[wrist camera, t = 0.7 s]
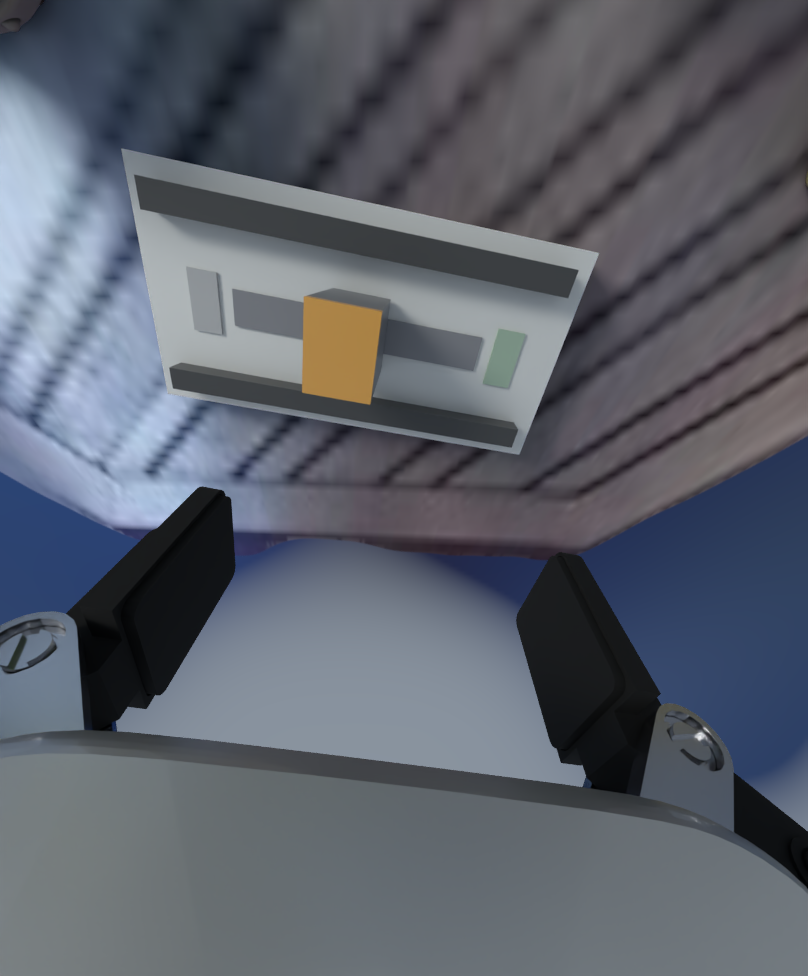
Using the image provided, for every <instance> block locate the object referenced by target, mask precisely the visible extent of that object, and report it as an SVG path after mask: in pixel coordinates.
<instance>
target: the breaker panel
mask: <svg viewBox="0 0 808 976" xmlns="http://www.w3.org/2000/svg"><path fill="white" fill-rule="evenodd" d="M121 151H122V156H123V161H124V166H125V172H126V177H127V182H128V187H129V193H130V198H131V203H132V208H133V213H134V219H135V224H136V229H137V234H138V240H139V245H140V250H141V255H142V260H143V266H144V271H145V276H146V281H147V287H148V292H149V297H150V302H151V308H152V313H153V318H154V323H155V328H156V334H157V339H158V344H159V349H160V355H161V360H162V365H163V370H164V375H165V381H166V386H167V391H168V394H172V395H178V396H184V397H190V398H195V399H201V400H207V401H213V402H218V403H224V404H230V405H236V406H241V407H247V408H253V409H259V410H264V411H270V412H276V413H282V414H287V415H293V416H299V417H305V418H311V419H316V420H322V421H328V422H334V423H339V424H345V425H351V426H357V427H362V428H368V429H374V430H380V431H385V432H391V433H397V434H403V435H408V436H414V437H420V438H426V439H431V440H437V441H443V442H449V443H454V444H460V445H466V446H472V447H478V448H483V449H489V450H495V451H501V452H506V453H512V454H518V455H519V454H520V452H521V449H522V446H523V444H524V441H525V439H526V436H527V434H528V431H529V429H530V426H531V424H532V421H533V419H534V416H535V414H536V411H537V409H538V406H539V404H540V401H541V399H542V396H543V393H544V391H545V388H546V386H547V383H548V381H549V378H550V376H551V373H552V371H553V368H554V366H555V363H556V361H557V358H558V356H559V353H560V351H561V348H562V346H563V343H564V340H565V338H566V335H567V333H568V330H569V328H570V325H571V323H572V320H573V318H574V315H575V313H576V310H577V308H578V305H579V303H580V300H581V298H582V295H583V293H584V290H585V287H586V285H587V282H588V280H589V277H590V275H591V272H592V270H593V267H594V265H595V262H596V260H597V257H598V255H599V253H596V252H592V251H587V250H583V249H578V248H574V247H569V246H565V245H560V244H555V243H551V242H546V241H542V240H537V239H533V238H528V237H524V236H519V235H514V234H510V233H505V232H501V231H496V230H492V229H487V228H482V227H478V226H473V225H469V224H464V223H460V222H455V221H451V220H446V219H441V218H437V217H432V216H428V215H423V214H419V213H414V212H410V211H405V210H400V209H396V208H391V207H387V206H382V205H378V204H373V203H368V202H364V201H359V200H355V199H350V198H346V197H341V196H337V195H332V194H327V193H323V192H318V191H314V190H309V189H305V188H300V187H295V186H291V185H286V184H282V183H277V182H273V181H268V180H264V179H259V178H254V177H250V176H245V175H241V174H236V173H232V172H227V171H223V170H218V169H213V168H209V167H204V166H200V165H195V164H191V163H186V162H181V161H177V160H172V159H168V158H163V157H159V156H154V155H150V154H145V153H140V152H136V151H131V150H127V149H122V148H121ZM331 288H337V289H342V290H347V291H352V292H357V293H362V294H367V295H372V296H377V297H382V298H386V299H391V301H390V308H389V316H388V323H387V330H386V337H385V345H384V352H383V359H382V367H381V373H380V376H379V379H378V382H377V385H376V388H375V391H374V394H373V397H372V401H371V404H370V405H369V404H363V403H357V402H352V401H346V400H341V399H335V398H329V397H324V396H318V395H313V394H307V393H302V364H303V309H304V296H307V295H310V294H314V293H317V292H321V291H324V290H328V289H331Z"/></svg>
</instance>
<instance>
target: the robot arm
mask: <svg viewBox="0 0 808 976" xmlns="http://www.w3.org/2000/svg"><path fill="white" fill-rule="evenodd" d="M234 572H235V552H234V537H233V521H232V506H231V499H230V497H227V496H225V493H224V491H222V490H218V489H213V488H207V487H199V488H197V489H196V490H195V491H194V492H193V493H192V494H191V495H190V496H189V497H188V498H187V499H186V500H185V501H184V502H183V503H182V504H181V505H180V506H179V507H178V508H177V509H176V510H175V511H174V512H173V513H172V514H171V515H170V516H169V517H168V518H167V519H166V520H165V521H164V522H163V523H162V524H161V525H160V526H159V527H158V528H157V529H154V530H152V531H150V532H149V533H148V534H147V535H146V536H145V537H144V538H143V539H142V540H141V541H140V542H139V543H138V544H137V545H136V546H135V547H133V548H132V549H131V550H130V551H129V552H128V553H127V554H126V555H125V556H124V557H123V558H122V559H121V560H120V561H119V562H118V563H117V564H116V565H115V566H114V567H113V568H112V569H111V570H110V571H109V572H108V573H107V574H106V575H105V576H104V577H103V578H102V579H101V580H100V581H99V582H98V583H97V584H96V585H95V586H94V587H93V588H92V589H91V590H90V591H89V592H88V593H87V594H86V595H85V596H84V597H83V598H82V599H81V600H79V601H78V602H77V603H76V604H75V605H74V606H73V607H72V608H71V609H70V610H69V611H68V612H67V613H66V614H63V613H59V612H39V613H34V614H30V615H25V616H22V617H20V618H17V619H14V620H11V621H9V622H7V623H5V624H3V625H1V626H0V976H808V831H806V830H805V829H804V828H803V827H801V826H800V825H799V824H798V823H796V822H795V821H794V820H793V819H791V818H790V817H789V816H788V815H786V814H785V813H784V812H782V811H781V810H780V809H779V808H778V807H776V806H775V805H774V804H772V803H771V802H770V801H769V800H768V799H766V798H765V797H764V796H762V795H761V794H760V793H759V792H758V791H756V790H755V789H754V788H753V787H751V786H750V785H749V784H748V783H746V782H745V781H744V780H742V779H741V778H740V777H739V776H738V775H736V774H735V773H734V772H733V764H732V759H731V756H730V754H729V752H728V750H727V748H726V746H725V745H724V743H723V742H722V740H721V739H720V738H719V736H718V735H717V734H716V732H715V731H714V730H713V729H712V728H711V727H710V726H709V725H708V724H707V723H706V722H705V721H703V720H702V719H701V718H700V717H698V716H697V715H696V714H694V713H693V712H691V711H689V710H688V709H686V708H684V707H681V706H679V705H676V704H664V705H661V704H660V702H659V700H658V699H657V697H658V696H659V695H660V694H661V693H660V692H659V690H658V688H657V687H656V685H655V683H654V681H653V680H652V678H651V676H650V674H649V673H648V671H647V669H646V668H645V666H644V664H643V662H642V661H641V659H640V657H639V655H638V654H637V652H636V650H635V649H634V647H633V645H632V643H631V642H630V640H629V638H628V636H627V635H626V633H625V631H624V630H623V628H622V626H621V624H620V623H619V621H618V619H617V617H616V616H615V614H614V612H613V611H612V609H611V607H610V605H609V604H608V602H607V600H606V598H605V597H604V595H603V593H602V592H601V590H600V588H599V586H598V585H597V583H596V581H595V580H594V578H593V576H592V575H591V573H590V571H589V569H588V568H587V566H586V564H585V562H584V560H583V559H582V558H581V557H580V556H578V555H573V554H568V553H562V552H559V553H557V554H556V555H555V556H552V557H550V558H549V560H548V562H547V564H546V565H545V567H544V569H543V570H542V572H541V574H540V576H539V577H538V579H537V581H536V583H535V584H534V586H533V588H532V589H531V591H530V593H529V595H528V596H527V598H526V600H525V602H524V603H523V605H522V607H521V608H520V610H519V612H518V614H517V620H516V621H517V628H518V631H519V635H520V638H521V642H522V645H523V649H524V652H525V656H526V659H527V663H528V666H529V670H530V673H531V677H532V680H533V684H534V687H535V691H536V694H537V697H538V701H539V705H540V708H541V711H542V715H543V719H544V722H545V725H546V729H547V732H548V736H549V739H550V742H551V744H552V746H553V747H554V748H557V751H558V754H559V758H560V761H561V763H567V764H574V765H583V768H584V770H585V774H586V778H585V781H584V784H583V787H576V786H570V785H563V784H556V783H548V782H540V781H533V780H525V779H517V778H510V777H502V776H495V775H486V774H479V773H470V772H464V771H456V770H448V769H440V768H432V767H424V766H416V765H408V764H400V763H392V762H384V761H376V760H368V759H360V758H352V757H344V756H335V755H327V754H319V753H311V752H302V751H294V750H286V749H276V748H269V747H261V746H252V745H243V744H236V743H227V742H219V741H210V740H200V739H191V738H181V737H170V736H161V735H151V734H141V733H131V732H117V726H116V720H118V719H120V717H121V716H122V714H123V713H124V711H125V710H126V708H127V707H135V708H142V709H147V707H148V706H149V704H150V702H151V701H152V699H153V697H154V696H155V695H161V694H162V693H163V692H164V691H165V690H166V688H167V687H168V685H169V683H170V682H171V680H172V679H173V677H174V675H175V674H176V672H177V670H178V669H179V667H180V665H181V663H182V662H183V660H184V658H185V657H186V655H187V653H188V652H189V650H190V648H191V647H192V645H193V643H194V642H195V640H196V638H197V637H198V635H199V633H200V632H201V630H202V628H203V627H204V625H205V623H206V622H207V620H208V618H209V617H210V615H211V613H212V611H213V610H214V608H215V606H216V605H217V603H218V601H219V600H220V598H221V596H222V595H223V593H224V591H225V590H226V588H227V586H228V585H229V583H230V581H231V580H232V578H233V575H234Z"/></svg>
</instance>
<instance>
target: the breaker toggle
mask: <svg viewBox="0 0 808 976" xmlns="http://www.w3.org/2000/svg"><path fill="white" fill-rule="evenodd" d="M390 301H391V299H386V298H382V297H377V296H372V295H367V294H362V293H357V292H352V291H347V290H342V289H337V288H331V289H328V290H324V291H321V292H317V293H314V294H310V295H307V296H304V309H303V364H302V393H307V394H313V395H318V396H324V397H329V398H335V399H341V400H346V401H352V402H357V403H363V404H369V405H370V404H371V401H372V397H373V394H374V391H375V388H376V385H377V382H378V379H379V376H380V373H381V367H382V359H383V352H384V345H385V337H386V330H387V323H388V316H389V308H390Z"/></svg>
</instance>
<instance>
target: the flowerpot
mask: <svg viewBox="0 0 808 976" xmlns="http://www.w3.org/2000/svg"><path fill="white" fill-rule="evenodd" d="M44 1H45V0H0V34H1V33H8V32H11V31H13V32H18V31H19V30H20V26H22V25H23V24H25V23H26V22H27V21H29V20H30V18H31V17H32V16H33V15H34V13H35V12H36V10H37V8H38V7H39V5H41V4H42V3H43V2H44Z"/></svg>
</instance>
